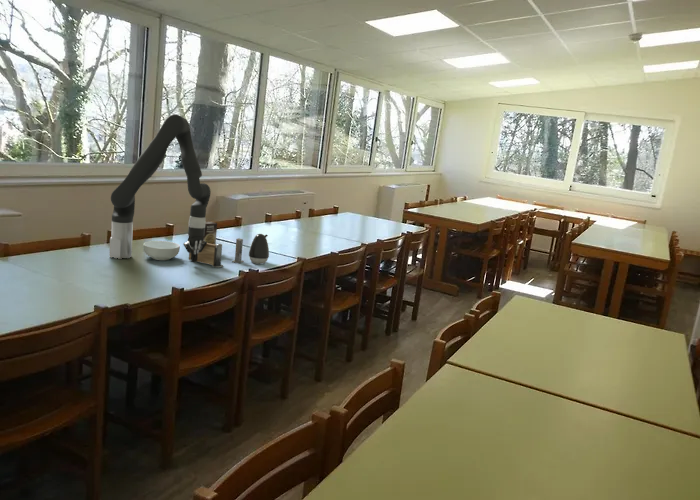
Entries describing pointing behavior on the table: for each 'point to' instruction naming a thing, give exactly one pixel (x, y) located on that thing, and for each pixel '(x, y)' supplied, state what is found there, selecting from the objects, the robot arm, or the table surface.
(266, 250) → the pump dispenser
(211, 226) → the coffee box
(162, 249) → the cereal bowl
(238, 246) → the post
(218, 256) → the hinge post
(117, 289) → the table surface
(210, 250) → the gate
